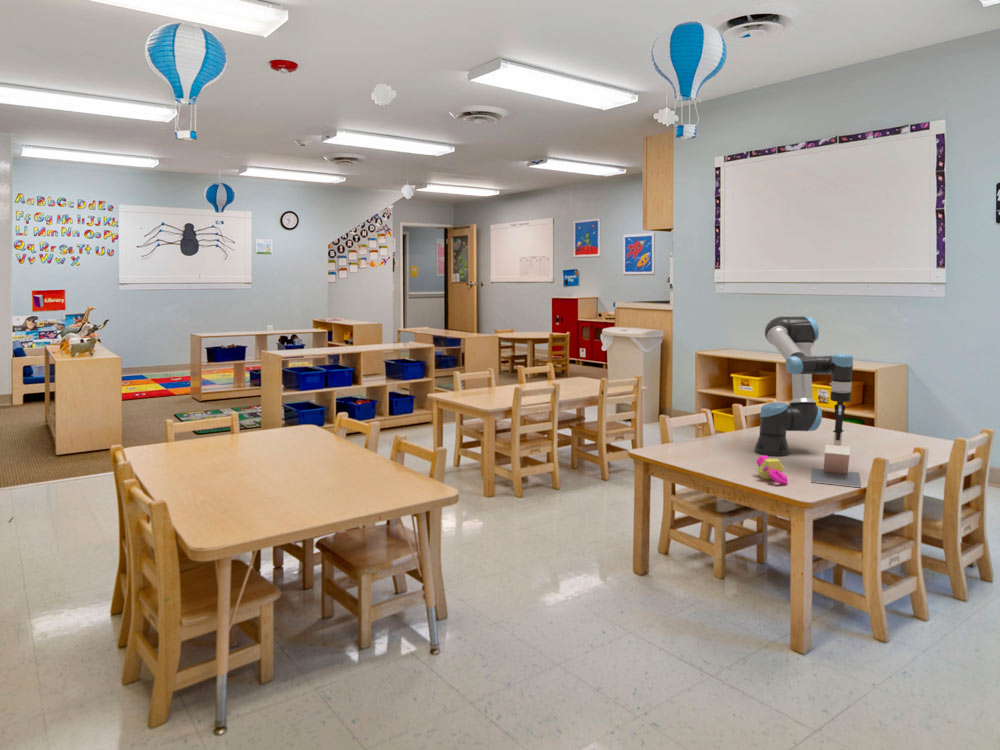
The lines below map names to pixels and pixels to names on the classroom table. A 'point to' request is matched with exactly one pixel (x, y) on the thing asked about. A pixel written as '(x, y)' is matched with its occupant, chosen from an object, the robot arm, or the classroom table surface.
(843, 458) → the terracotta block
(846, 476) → the slate mat
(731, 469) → the classroom table surface
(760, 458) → the toy
